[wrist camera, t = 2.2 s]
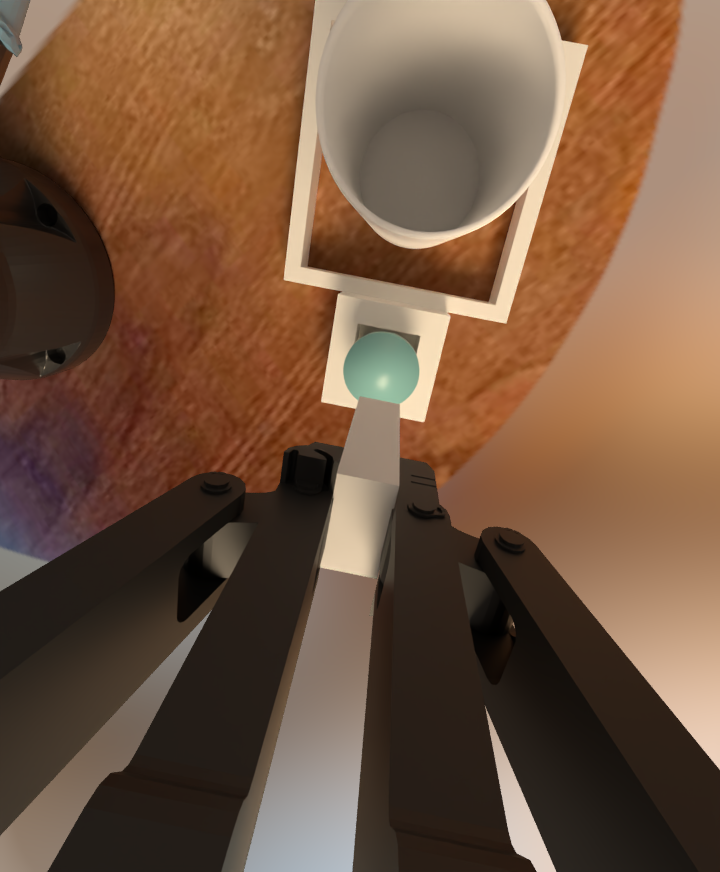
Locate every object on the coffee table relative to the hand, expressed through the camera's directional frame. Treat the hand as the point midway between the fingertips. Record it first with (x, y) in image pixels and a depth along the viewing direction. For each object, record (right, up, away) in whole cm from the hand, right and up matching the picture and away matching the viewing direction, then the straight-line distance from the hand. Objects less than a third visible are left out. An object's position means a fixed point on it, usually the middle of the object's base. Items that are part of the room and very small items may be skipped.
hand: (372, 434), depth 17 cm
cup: (+3, +17, +13) cm, 21 cm away
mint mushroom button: (+1, +5, +14) cm, 15 cm away
